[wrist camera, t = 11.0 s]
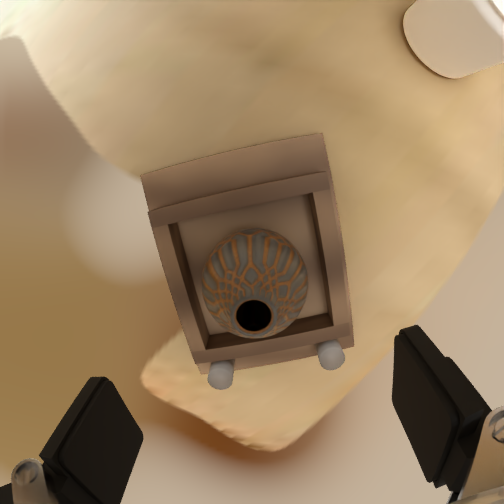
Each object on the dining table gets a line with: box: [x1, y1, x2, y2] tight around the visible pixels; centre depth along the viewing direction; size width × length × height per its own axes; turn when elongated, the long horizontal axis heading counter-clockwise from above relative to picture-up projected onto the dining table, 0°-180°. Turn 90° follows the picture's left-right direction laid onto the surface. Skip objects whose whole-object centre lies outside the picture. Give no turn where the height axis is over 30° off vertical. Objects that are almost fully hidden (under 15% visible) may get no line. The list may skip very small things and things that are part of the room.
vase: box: [201, 228, 308, 338], centre depth 20 cm, size 7×7×9 cm
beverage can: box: [403, 0, 504, 79], centre depth 14 cm, size 8×8×12 cm
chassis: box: [140, 133, 354, 390], centre depth 23 cm, size 18×14×4 cm
